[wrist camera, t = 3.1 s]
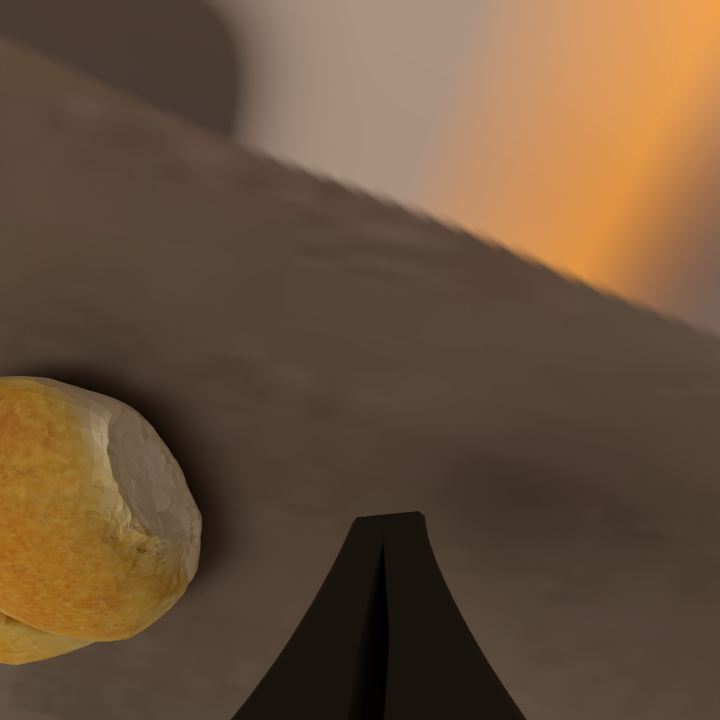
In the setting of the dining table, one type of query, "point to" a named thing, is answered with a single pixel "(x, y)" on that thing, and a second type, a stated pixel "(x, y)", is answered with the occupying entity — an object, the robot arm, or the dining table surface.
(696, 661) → the dining table surface
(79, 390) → the bread roll
